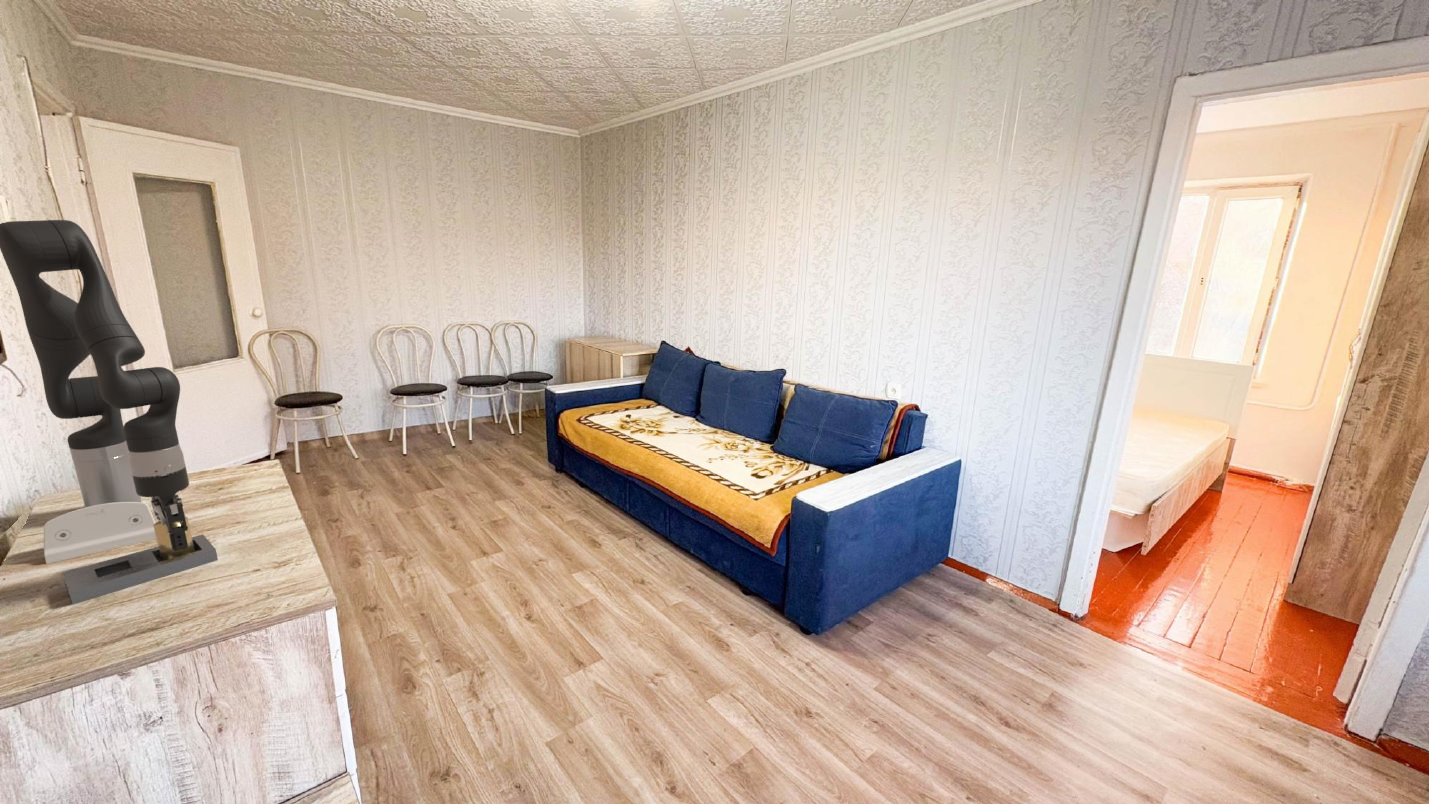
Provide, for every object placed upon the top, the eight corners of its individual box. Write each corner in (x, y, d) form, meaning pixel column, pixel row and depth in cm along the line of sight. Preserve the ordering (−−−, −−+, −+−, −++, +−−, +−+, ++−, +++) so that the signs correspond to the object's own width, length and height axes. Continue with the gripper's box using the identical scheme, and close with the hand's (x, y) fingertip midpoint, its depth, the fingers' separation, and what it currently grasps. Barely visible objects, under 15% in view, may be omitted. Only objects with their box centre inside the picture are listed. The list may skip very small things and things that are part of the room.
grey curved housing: (43, 564, 110) (33, 516, 110) (47, 563, 113) (38, 516, 113) (160, 538, 122) (151, 494, 122) (161, 537, 125) (152, 495, 125)
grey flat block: (65, 584, 104) (62, 572, 103) (205, 544, 120) (202, 534, 119) (72, 604, 98) (69, 592, 98) (217, 560, 114) (215, 549, 113)
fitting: (160, 562, 112) (150, 522, 110) (192, 553, 116) (184, 514, 114) (165, 570, 109) (156, 530, 107) (198, 560, 113) (190, 521, 111)
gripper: (125, 464, 109) (142, 538, 113) (139, 483, 101) (157, 561, 105) (176, 455, 115) (191, 525, 119) (193, 472, 107) (209, 546, 111)
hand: (175, 542), depth 112 cm, fingers open, 8 cm apart
